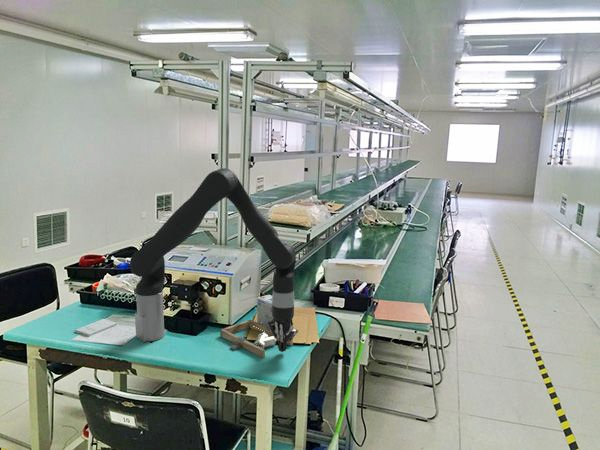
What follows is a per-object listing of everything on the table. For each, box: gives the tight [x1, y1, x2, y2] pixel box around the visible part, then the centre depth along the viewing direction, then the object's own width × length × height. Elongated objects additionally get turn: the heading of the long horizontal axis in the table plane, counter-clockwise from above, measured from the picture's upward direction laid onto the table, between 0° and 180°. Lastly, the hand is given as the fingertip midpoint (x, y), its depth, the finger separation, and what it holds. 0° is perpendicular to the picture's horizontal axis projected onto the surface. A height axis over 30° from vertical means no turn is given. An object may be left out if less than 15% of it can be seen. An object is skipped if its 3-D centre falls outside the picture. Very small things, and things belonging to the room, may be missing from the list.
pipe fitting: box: [253, 332, 277, 350], centre depth 166 cm, size 8×4×7 cm
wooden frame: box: [219, 319, 294, 358], centre depth 171 cm, size 14×24×2 cm, turn 45°
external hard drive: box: [74, 318, 118, 337], centre depth 179 cm, size 2×8×12 cm
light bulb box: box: [256, 294, 273, 327], centre depth 185 cm, size 11×7×11 cm, turn 44°
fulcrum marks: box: [229, 327, 276, 351], centre depth 171 cm, size 22×3×3 cm, turn 135°
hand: (282, 350), depth 161 cm, fingers closed
